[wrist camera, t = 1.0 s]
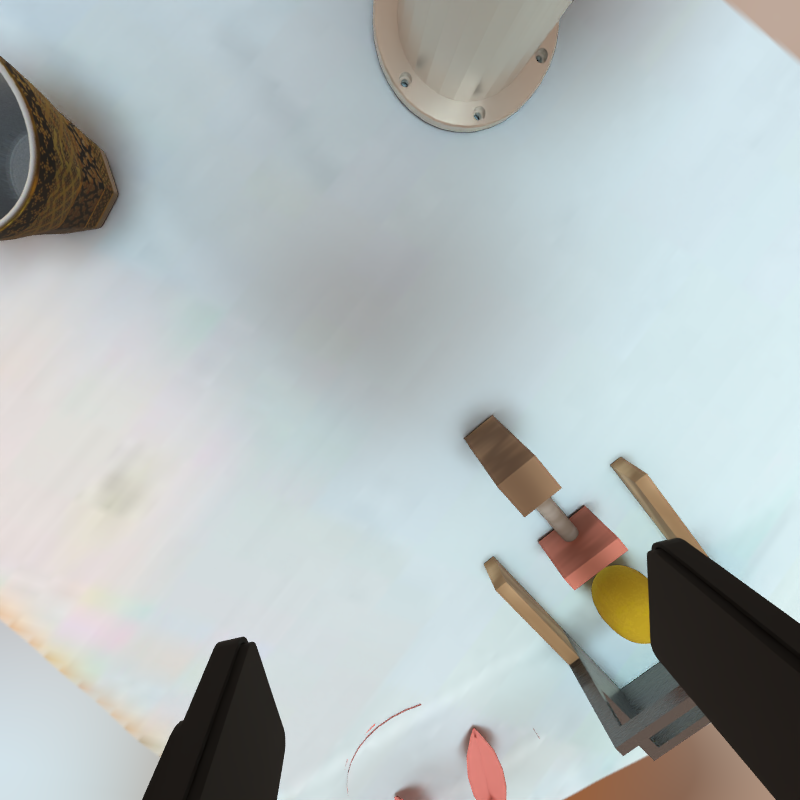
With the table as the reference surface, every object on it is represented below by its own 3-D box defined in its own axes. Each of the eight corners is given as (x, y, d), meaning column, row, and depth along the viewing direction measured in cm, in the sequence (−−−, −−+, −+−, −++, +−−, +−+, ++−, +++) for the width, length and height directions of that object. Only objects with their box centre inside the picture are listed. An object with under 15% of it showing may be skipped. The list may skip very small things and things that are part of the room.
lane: (620, 456, 38) (646, 473, 34) (682, 538, 41) (711, 561, 37) (483, 564, 40) (495, 590, 36) (552, 634, 43) (569, 665, 39)
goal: (682, 538, 41) (793, 624, 30) (739, 615, 44) (858, 717, 34) (552, 634, 43) (615, 748, 32) (617, 701, 46) (694, 824, 35)
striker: (503, 406, 35) (549, 443, 27) (594, 516, 39) (660, 581, 30) (453, 447, 36) (482, 497, 27) (547, 552, 40) (599, 625, 31)
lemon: (566, 583, 41) (613, 651, 33) (597, 540, 40) (654, 599, 32) (607, 603, 42) (662, 672, 35) (639, 561, 41) (703, 623, 34)
